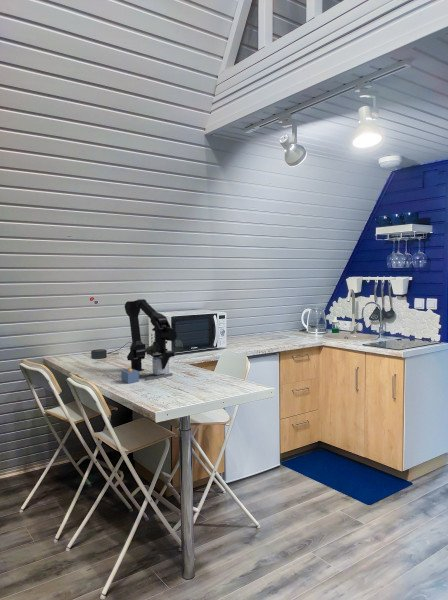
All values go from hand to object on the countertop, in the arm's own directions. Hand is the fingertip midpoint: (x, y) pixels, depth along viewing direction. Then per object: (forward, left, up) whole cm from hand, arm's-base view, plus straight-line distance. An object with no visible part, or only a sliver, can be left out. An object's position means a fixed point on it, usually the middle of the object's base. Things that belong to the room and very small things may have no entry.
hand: (161, 368), depth 240 cm
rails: (0, -4, -4) cm, 5 cm away
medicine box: (0, 0, -3) cm, 3 cm away
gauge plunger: (0, -19, -1) cm, 19 cm away
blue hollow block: (0, -19, -4) cm, 19 cm away
